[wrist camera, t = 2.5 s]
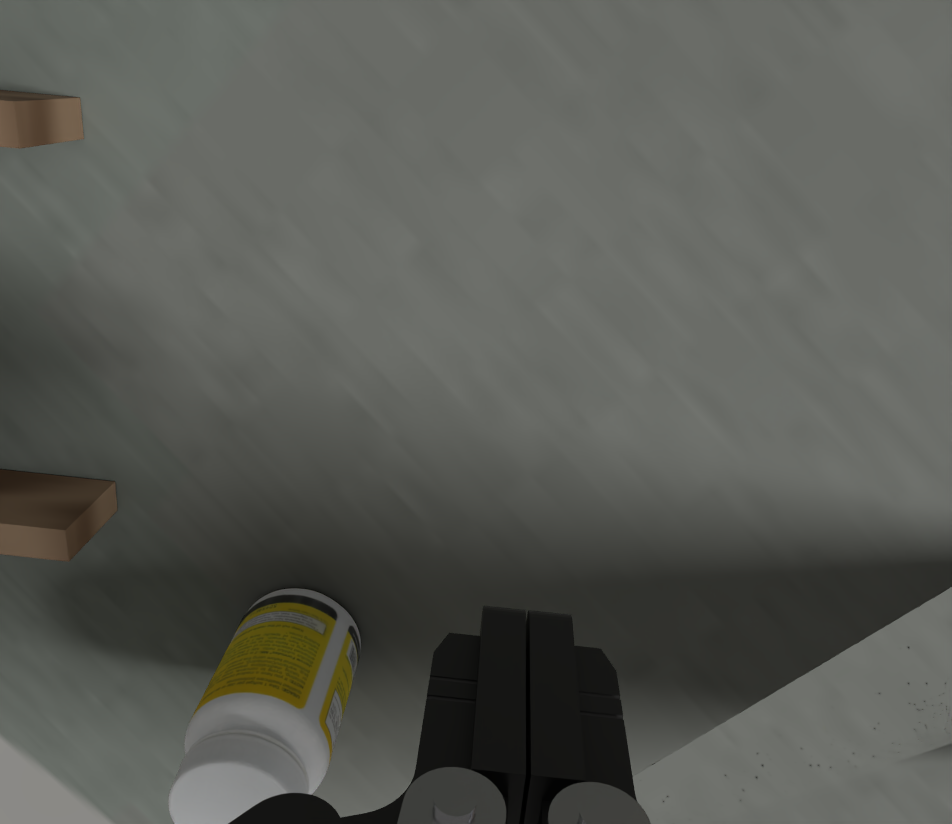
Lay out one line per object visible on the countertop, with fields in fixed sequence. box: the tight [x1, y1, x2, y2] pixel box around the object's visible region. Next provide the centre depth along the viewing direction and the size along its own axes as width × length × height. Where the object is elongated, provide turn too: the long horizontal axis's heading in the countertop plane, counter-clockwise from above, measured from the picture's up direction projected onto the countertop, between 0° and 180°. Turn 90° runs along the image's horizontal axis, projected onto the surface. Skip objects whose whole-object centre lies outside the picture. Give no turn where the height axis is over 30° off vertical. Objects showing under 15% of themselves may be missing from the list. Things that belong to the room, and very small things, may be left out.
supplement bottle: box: [168, 588, 361, 824], centre depth 29 cm, size 5×5×8 cm
